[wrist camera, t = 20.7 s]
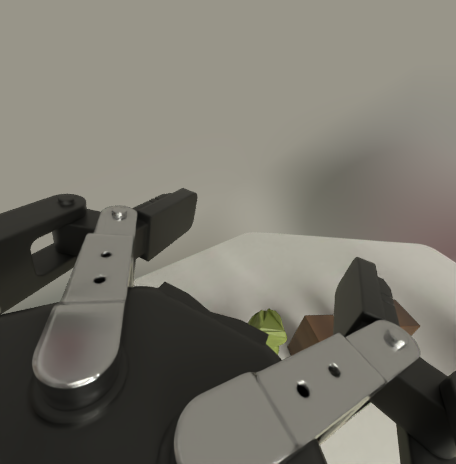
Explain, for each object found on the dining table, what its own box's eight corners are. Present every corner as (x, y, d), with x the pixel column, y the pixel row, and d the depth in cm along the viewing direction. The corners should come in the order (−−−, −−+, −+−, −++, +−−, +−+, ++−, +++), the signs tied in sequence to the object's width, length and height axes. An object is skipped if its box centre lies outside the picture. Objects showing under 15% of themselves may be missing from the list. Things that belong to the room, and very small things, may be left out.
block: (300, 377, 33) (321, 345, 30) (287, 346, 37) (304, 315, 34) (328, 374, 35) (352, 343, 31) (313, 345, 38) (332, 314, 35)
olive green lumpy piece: (264, 349, 36) (288, 301, 31) (272, 388, 31) (301, 339, 26) (226, 347, 35) (244, 296, 30) (229, 387, 30) (251, 335, 25)
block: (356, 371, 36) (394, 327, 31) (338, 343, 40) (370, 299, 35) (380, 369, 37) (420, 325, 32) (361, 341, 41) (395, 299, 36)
